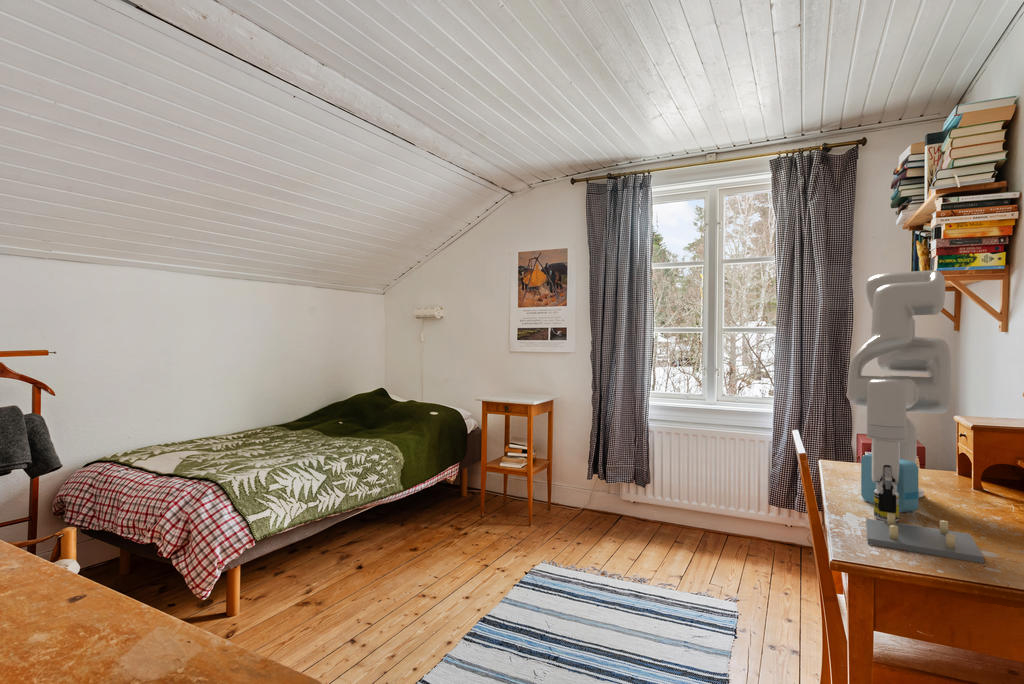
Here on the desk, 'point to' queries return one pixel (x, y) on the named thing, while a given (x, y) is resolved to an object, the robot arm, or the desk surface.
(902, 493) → the data package
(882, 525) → the chassis plate
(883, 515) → the supplement bottle
